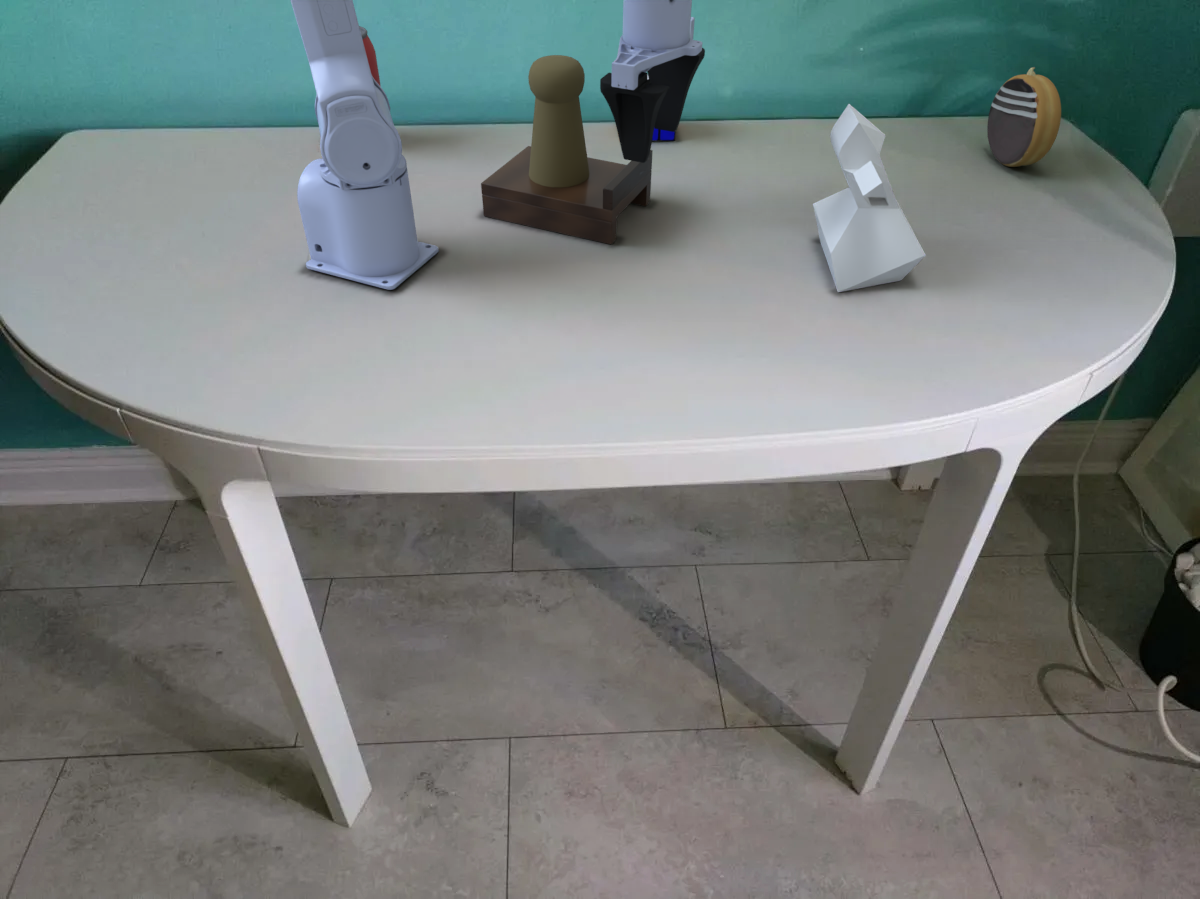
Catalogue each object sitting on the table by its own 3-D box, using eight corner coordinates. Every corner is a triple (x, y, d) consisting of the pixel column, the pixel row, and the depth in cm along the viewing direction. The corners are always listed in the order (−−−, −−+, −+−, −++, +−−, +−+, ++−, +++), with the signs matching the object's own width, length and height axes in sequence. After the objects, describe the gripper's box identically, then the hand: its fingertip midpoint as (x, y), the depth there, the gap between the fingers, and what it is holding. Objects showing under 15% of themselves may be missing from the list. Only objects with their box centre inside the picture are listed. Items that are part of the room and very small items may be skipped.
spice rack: (483, 216, 88) (478, 163, 85) (529, 177, 95) (527, 126, 92) (611, 245, 84) (612, 190, 81) (650, 201, 91) (652, 150, 87)
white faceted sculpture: (886, 225, 88) (920, 83, 79) (922, 300, 77) (966, 147, 68) (801, 224, 88) (825, 82, 79) (825, 299, 77) (856, 145, 68)
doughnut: (974, 146, 102) (1000, 56, 96) (1003, 145, 103) (1032, 55, 96) (1015, 181, 95) (1047, 87, 89) (1047, 179, 96) (1081, 85, 89)
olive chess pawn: (582, 190, 85) (581, 72, 78) (521, 184, 86) (515, 67, 79) (595, 164, 90) (595, 50, 82) (537, 159, 90) (532, 46, 83)
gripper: (673, 11, 66) (663, 182, 75) (731, -33, 76) (717, 123, 85) (587, -1, 68) (588, 168, 77) (655, -42, 78) (649, 111, 87)
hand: (651, 144), depth 82 cm, fingers open, 7 cm apart
